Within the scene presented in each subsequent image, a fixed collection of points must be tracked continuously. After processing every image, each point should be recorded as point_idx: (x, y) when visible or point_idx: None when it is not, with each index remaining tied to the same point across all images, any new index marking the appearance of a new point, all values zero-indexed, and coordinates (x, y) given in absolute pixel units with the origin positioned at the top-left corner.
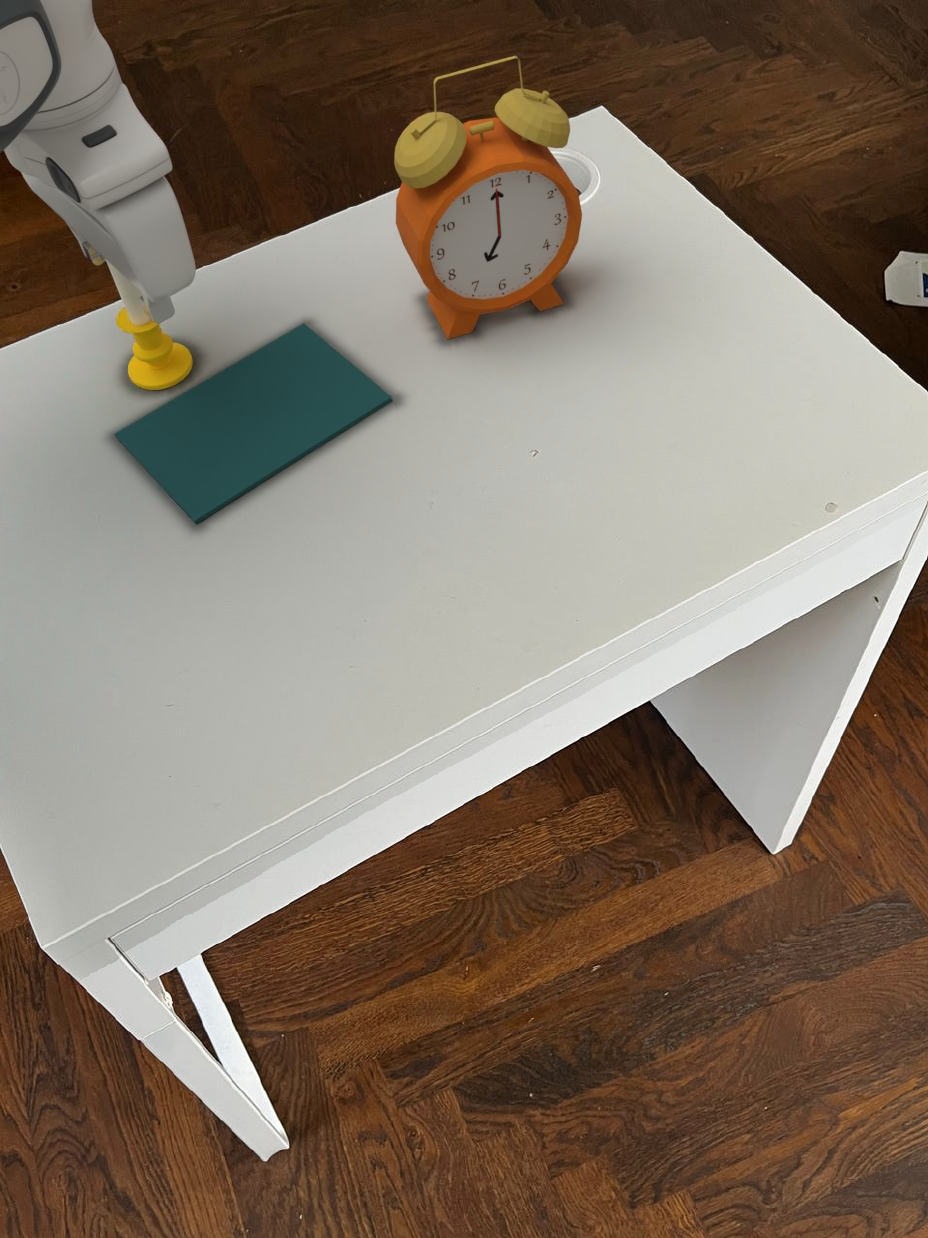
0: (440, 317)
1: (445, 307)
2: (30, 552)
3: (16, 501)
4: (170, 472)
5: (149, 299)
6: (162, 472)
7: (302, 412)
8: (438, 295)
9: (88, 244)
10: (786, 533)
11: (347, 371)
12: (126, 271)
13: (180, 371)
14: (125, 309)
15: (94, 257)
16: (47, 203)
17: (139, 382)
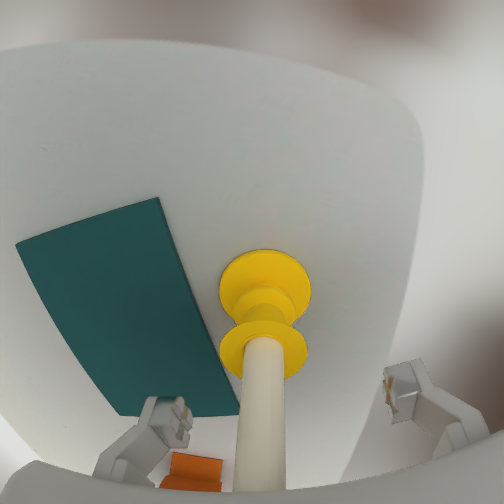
0: (192, 459)
1: (189, 468)
2: (33, 66)
3: (108, 46)
4: (69, 244)
5: (31, 463)
6: (72, 236)
7: (118, 372)
8: (159, 487)
9: (405, 400)
10: (23, 438)
11: None
12: (63, 499)
13: (231, 311)
14: (297, 340)
15: (389, 382)
16: (492, 447)
17: (239, 261)
